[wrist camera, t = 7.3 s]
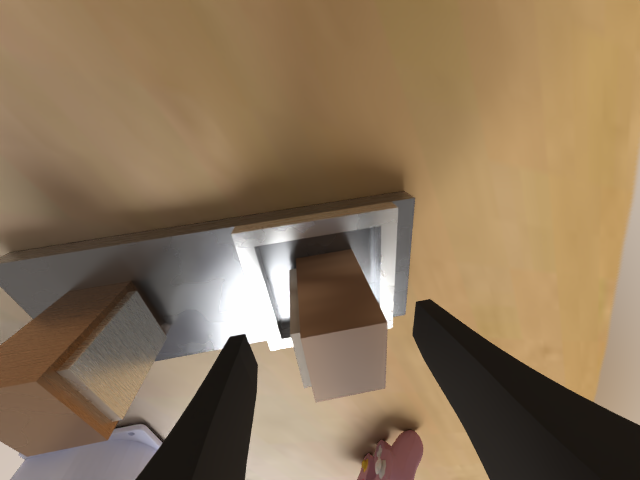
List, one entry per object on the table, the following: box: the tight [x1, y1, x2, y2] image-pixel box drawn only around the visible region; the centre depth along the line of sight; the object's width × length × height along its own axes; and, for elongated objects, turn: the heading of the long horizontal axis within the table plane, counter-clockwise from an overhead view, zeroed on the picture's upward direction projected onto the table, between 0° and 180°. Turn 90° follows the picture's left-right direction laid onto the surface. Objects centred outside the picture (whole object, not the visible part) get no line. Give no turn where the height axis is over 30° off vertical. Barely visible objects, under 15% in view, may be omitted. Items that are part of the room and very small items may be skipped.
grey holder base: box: [0, 191, 415, 457], centre depth 11 cm, size 20×8×6 cm, turn 97°
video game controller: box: [357, 430, 423, 480], centre depth 25 cm, size 10×5×7 cm, turn 158°
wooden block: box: [289, 249, 388, 402], centre depth 11 cm, size 3×4×5 cm
